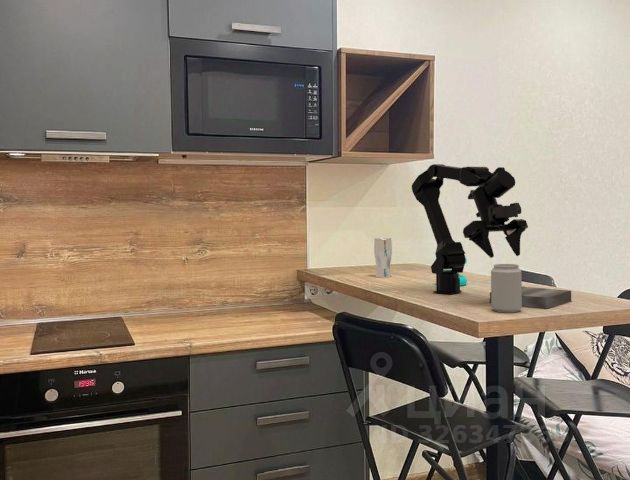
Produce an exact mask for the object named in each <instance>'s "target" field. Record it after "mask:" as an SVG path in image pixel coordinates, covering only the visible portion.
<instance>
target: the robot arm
mask: <svg viewBox="0 0 630 480" xmlns="http://www.w3.org/2000/svg"><path fill="white" fill-rule="evenodd" d="M444 179H447V180H453V181H457V182H459V183H460V184H461V185H463V186H465V187H476V188H475V189H471V190H470V191H469V194H468V196H467V199H468V200H474V204H475V206H476V207H475V208H476V210H477V212H476V213H475V216H476V218H480V220H471V222H469V223H468V224H467V225H465V227H464V228H463V230H462V234H463V237H464V239H468V241H470V242H473V243H474V244H475V246H476V245H477V247H478V248H480V249H481V250H482V251H483V252H484V253H485V254H486V255H487V257H489V258H491V259H492V258H494V257H495V255H494V251H493V247H492V244H491V241H490V239H489V233H490V232H493V233H494V232H503V234H504V238H505V240H506V242H507V243H508V245H509V246H510V248H511V250H512V252H513V253H514V255H515V256H516V257H519V256H520V255H521V238H522V237H521V236H522V234H523V232H525V231H526V229H528V228H529V226H528V222H527V220H526V219H523V218H519V219H518V217H519V215H521V214H522V207H521V205H520V203H519V202H513V203H510V204H509V205H503V204H501V203H498V201H497V199H498V198H501V197H502V196H504V195H505V194H506V193H508V192H509V191H510V190H512V189H513V188H514V187H515V186H516V180H515V177H514V176H513V175H512V173H510V172H509V171H507V170H506V169H505V167H503V166H502V167H501V166H500V167H498V166H497V168H496V169H495V170H494V171H493V172H491V171H490V168H488V167H487V166H463V167H459V166H450V165H445V164H442V163H441V164H439V163H437V164H436V163H433V164H430V165H429V166H428V168H427V169H426V170H425V171H423V172H422V173H420V174H419V175H417V177H416V179H415V180H413V182H412V183H411V190H412V191H411V192H412V193H413V196H414V198H415V199H416V201H417V202H419V204H421V205H422V206H423V207H424V208H423V209H424V211H425V214H426V216H427V220H428V222H429V225H430V228H431V231H432V233H433V236H434V240H435V243H436V250H435V253H434V254H435V257H436V258H435V260H434V261H433V263H432V264H431V265H430V271H431V274H433V275H434V274H435V281H436V283H435V286H436V287H435V289H436V290H433V293H436V294H446V295H453V294H458V293H462V290H461V286H460V278H459V274H462V273H463V272H464V269H465V265H466V264H465V260H466V259H467V257H466V255H465V254H466V251H465V250H464V246H463V243H462V242H461V241H455V240H454V239H453V237H452V234H451V231H450V229H449V226H448V223H447V221H446V218H445V215H444V212H443V210H442V207H441V204H440V201H439V198H440V196H441V190H440V189H441V188H442V186H443V185H444ZM496 198H497V199H496ZM510 218H514V219H512V220H510ZM507 222H508V223H507ZM465 257H466V258H465Z"/></svg>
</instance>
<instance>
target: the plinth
mask: <svg viewBox="0 0 630 480" xmlns="http://www.w3.org/2000/svg"><path fill="white" fill-rule="evenodd" d="M570 302H572V290H570V289H569V290H567V289H558V288H557V289H556V288H542V287H531V286H522V307H523V308H533V309H541V310H542V309H543V310H548V309H551V308H556V307H559V306H561V305H564V304H568V303H570ZM489 304H491V291H490V292H489Z"/></svg>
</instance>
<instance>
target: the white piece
mask: <svg viewBox="0 0 630 480" xmlns="http://www.w3.org/2000/svg"><path fill="white" fill-rule="evenodd" d="M373 252H374V253H373V254H374V259H375V263H376V264H375V265H376V272H375V278H381V279H383V278H384V279H385V278H386V279H387V277H388V278H391V277H392V273H391V272H392V271H391V261H392V257H393V255H392V254H393V244H392V238H391V237H380V238H379V237H378V238H377V237H376V238H374V244H373Z"/></svg>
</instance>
